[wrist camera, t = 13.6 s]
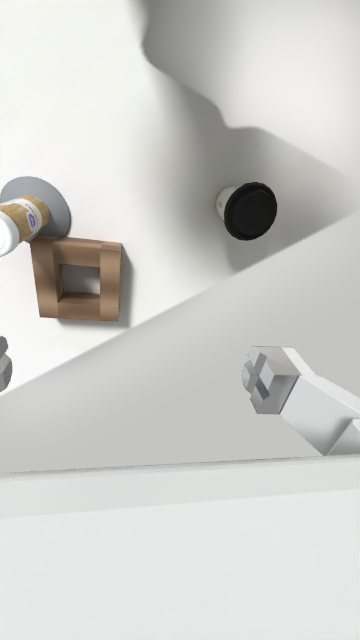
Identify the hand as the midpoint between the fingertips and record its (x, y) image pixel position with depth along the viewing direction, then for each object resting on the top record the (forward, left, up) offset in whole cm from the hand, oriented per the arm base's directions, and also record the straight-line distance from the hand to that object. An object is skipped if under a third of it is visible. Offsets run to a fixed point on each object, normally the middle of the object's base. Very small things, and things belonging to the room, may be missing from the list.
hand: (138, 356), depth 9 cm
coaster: (+3, -14, -35) cm, 38 cm away
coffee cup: (-2, +14, -35) cm, 38 cm away
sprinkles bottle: (+3, -14, -35) cm, 38 cm away
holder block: (+12, -8, -35) cm, 38 cm away
